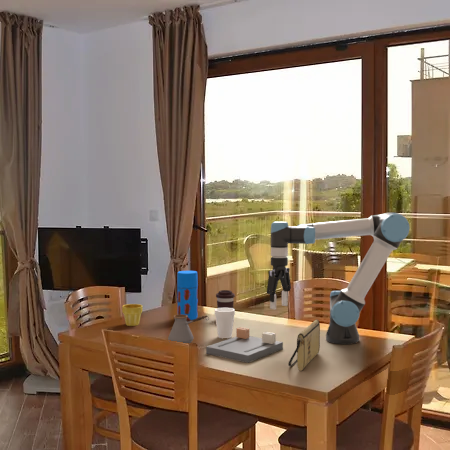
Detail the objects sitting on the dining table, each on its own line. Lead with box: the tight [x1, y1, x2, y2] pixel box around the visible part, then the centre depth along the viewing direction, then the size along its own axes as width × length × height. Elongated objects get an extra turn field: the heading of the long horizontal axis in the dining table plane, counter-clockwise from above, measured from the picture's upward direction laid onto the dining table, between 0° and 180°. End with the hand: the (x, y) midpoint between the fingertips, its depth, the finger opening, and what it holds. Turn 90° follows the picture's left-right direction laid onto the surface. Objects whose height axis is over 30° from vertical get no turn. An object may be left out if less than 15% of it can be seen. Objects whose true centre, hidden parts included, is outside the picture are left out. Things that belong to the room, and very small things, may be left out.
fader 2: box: [261, 331, 277, 344], centre depth 267 cm, size 5×3×4 cm, turn 52°
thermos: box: [176, 270, 199, 321], centre depth 329 cm, size 11×11×25 cm
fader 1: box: [235, 326, 250, 339], centre depth 276 cm, size 5×3×4 cm, turn 52°
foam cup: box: [214, 307, 236, 339], centre depth 290 cm, size 10×9×13 cm
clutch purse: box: [288, 319, 321, 372], centre depth 250 cm, size 30×7×15 cm, turn 158°
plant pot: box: [121, 303, 144, 327], centre depth 315 cm, size 10×10×10 cm
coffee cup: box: [215, 289, 236, 309], centre depth 328 cm, size 10×10×15 cm
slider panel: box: [205, 335, 284, 364], centre depth 266 cm, size 22×26×3 cm
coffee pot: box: [167, 314, 210, 344], centre depth 274 cm, size 21×12×15 cm, turn 54°
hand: (278, 307), depth 273 cm, fingers open, 9 cm apart
